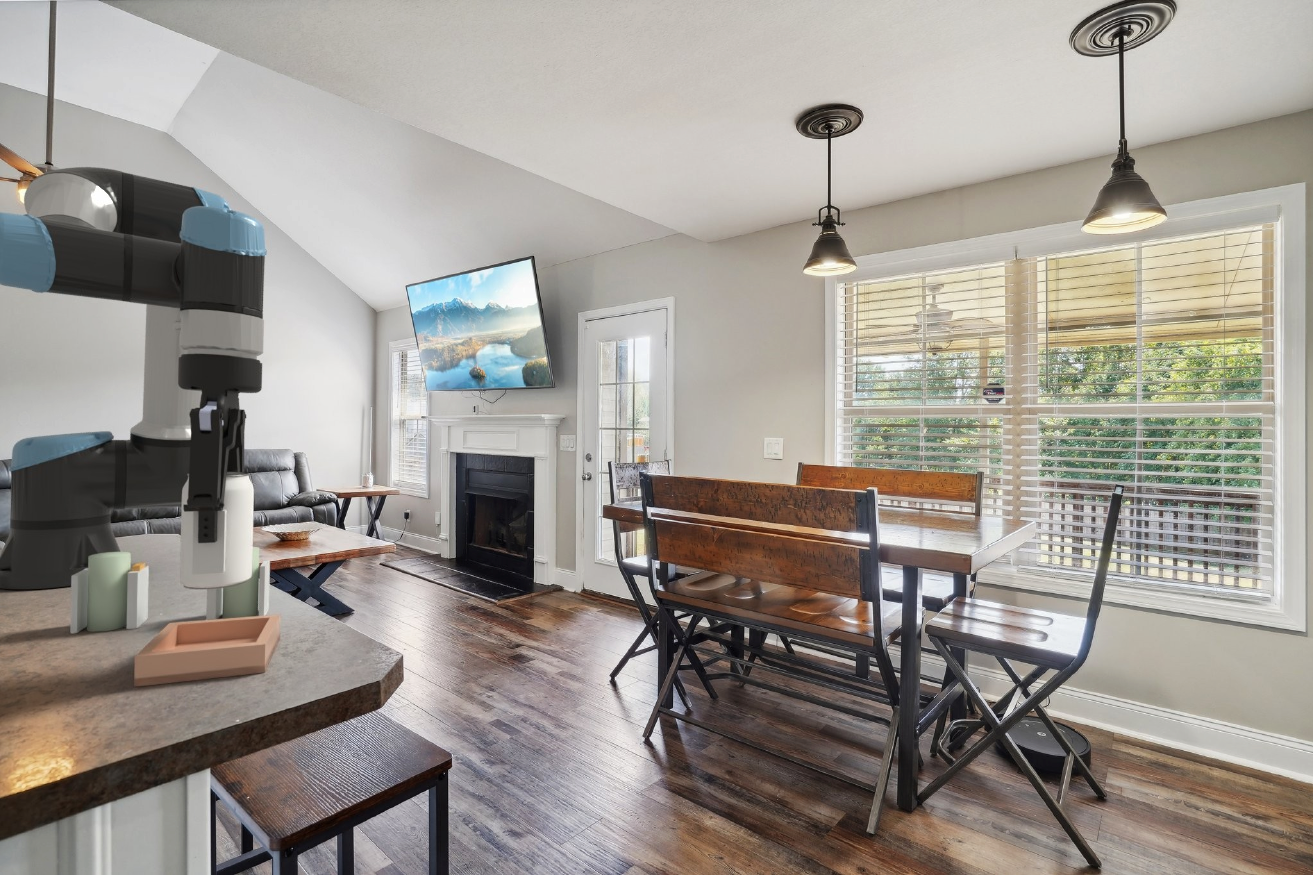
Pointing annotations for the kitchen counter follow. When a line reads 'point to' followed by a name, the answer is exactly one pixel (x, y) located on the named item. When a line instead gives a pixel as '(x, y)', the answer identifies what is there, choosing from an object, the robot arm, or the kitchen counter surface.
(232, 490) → the can
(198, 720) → the kitchen counter surface
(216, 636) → the tray
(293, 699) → the kitchen counter surface
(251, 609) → the green piece
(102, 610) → the peg
